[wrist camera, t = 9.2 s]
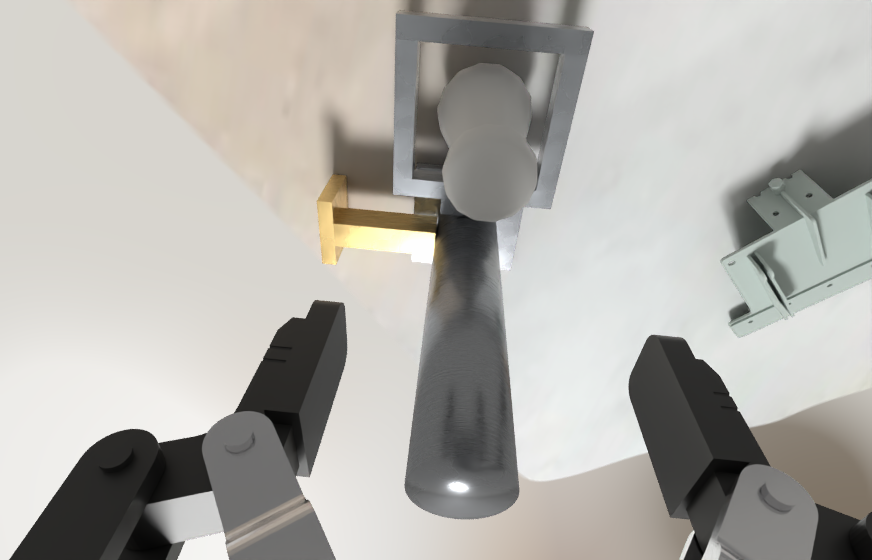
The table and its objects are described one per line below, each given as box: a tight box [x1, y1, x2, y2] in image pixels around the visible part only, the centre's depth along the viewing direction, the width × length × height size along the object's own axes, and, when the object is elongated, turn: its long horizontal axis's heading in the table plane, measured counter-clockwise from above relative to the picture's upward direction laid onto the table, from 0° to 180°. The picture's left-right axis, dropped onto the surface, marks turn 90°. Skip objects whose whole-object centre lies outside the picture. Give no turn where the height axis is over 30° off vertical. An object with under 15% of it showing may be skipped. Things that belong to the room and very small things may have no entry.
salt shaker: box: [437, 63, 537, 222], centre depth 25 cm, size 6×6×13 cm
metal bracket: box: [720, 169, 872, 338], centre depth 35 cm, size 14×6×15 cm
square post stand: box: [317, 10, 594, 519], centre depth 24 cm, size 15×18×22 cm
